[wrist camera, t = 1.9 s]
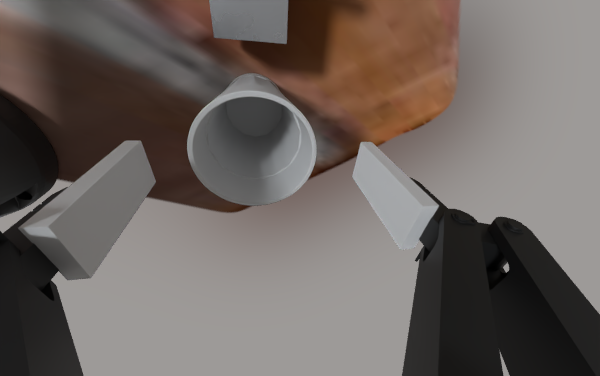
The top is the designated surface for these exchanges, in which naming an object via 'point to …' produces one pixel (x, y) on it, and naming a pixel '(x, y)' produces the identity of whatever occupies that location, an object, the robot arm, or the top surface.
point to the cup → (252, 143)
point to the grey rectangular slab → (250, 20)
